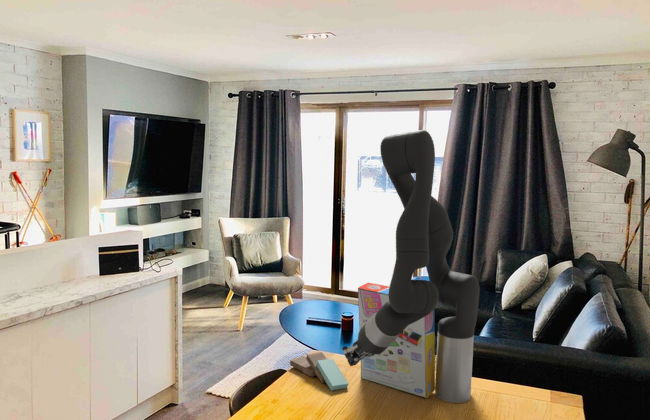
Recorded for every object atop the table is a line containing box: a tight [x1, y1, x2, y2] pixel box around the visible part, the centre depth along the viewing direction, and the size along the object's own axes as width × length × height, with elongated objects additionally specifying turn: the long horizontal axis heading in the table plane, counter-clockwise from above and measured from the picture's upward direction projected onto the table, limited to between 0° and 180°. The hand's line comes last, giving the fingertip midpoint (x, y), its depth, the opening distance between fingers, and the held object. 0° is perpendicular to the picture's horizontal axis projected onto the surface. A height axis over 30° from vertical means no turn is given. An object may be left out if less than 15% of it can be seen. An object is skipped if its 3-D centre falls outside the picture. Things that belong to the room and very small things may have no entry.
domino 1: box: [289, 355, 317, 377], centre depth 153 cm, size 2×5×10 cm
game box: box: [357, 282, 436, 399], centre depth 142 cm, size 21×6×27 cm, turn 54°
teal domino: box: [316, 358, 349, 391], centre depth 145 cm, size 2×5×10 cm
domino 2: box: [305, 351, 327, 384], centre depth 149 cm, size 2×5×10 cm
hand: (351, 362), depth 135 cm, fingers closed
